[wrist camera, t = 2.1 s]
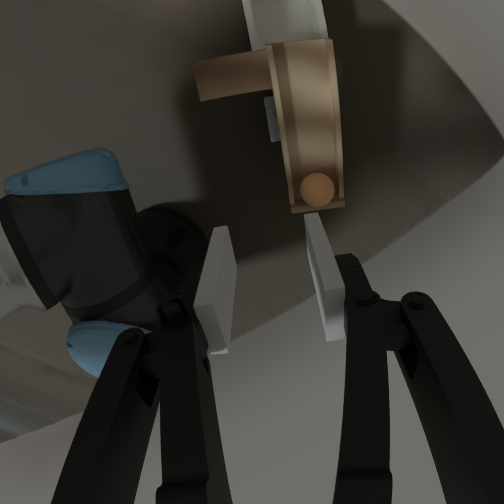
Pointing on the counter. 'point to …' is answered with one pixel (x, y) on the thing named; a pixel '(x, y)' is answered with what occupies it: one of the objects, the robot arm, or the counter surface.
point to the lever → (289, 105)
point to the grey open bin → (283, 21)
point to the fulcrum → (272, 118)
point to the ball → (317, 189)
